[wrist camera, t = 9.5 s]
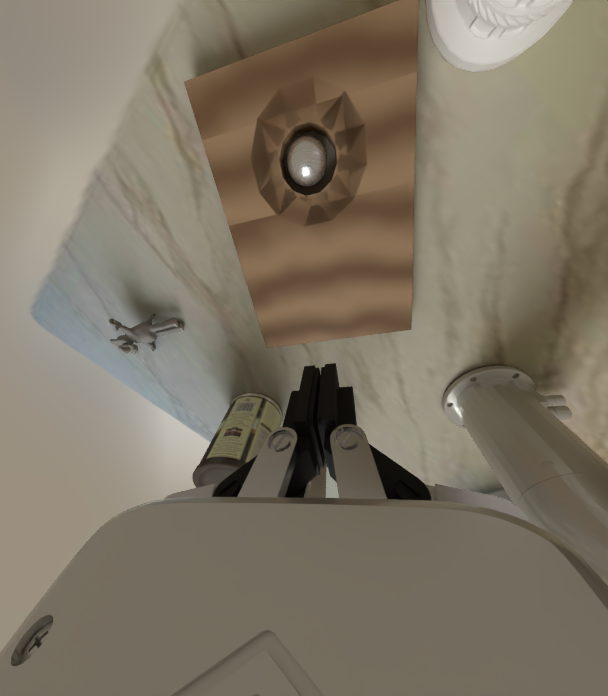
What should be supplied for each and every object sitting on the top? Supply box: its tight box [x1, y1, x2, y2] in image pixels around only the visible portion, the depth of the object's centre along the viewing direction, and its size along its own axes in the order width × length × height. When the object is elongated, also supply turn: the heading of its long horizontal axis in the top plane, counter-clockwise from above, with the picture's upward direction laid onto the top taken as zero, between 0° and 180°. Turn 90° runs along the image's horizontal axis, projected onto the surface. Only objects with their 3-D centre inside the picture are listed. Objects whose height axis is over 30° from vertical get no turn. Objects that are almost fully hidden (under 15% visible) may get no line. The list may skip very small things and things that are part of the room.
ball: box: [287, 136, 327, 186], centre depth 23 cm, size 4×4×4 cm
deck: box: [184, 0, 419, 348], centre depth 27 cm, size 28×20×2 cm
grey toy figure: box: [109, 314, 184, 357], centre depth 35 cm, size 10×6×9 cm
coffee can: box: [193, 393, 282, 488], centre depth 39 cm, size 10×10×14 cm
